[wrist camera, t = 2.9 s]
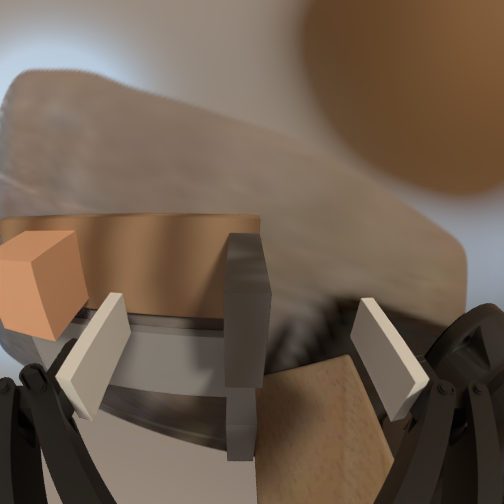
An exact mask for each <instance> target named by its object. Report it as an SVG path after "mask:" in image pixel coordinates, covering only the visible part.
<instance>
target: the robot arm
mask: <svg viewBox="0 0 504 504" xmlns="http://www.w3.org/2000/svg"><path fill="white" fill-rule="evenodd" d="M130 334H131V330H130V326H129V322H128V317H127V313H126V308H125V303H124V298H123V293H112V292H110V294H109V295H108V297H107V298H106V299H105V301H104V302H103V304H102V305H101V306H100V308H99V309H98V311H97V312H96V314H95V315H94V316H93V318H92V319H91V321H90V322H89V324H88V325H87V327H86V328H85V330H84V331H83V333H82V334H81V336H80V337H79V339H76V338H72V339H71V340H69V341H68V342H67V343H65V345H64V346H63V348H62V349H61V352H59V354H58V355H57V358H55V360H54V361H53V363H52V365H51V366H50V368H49V369H48V371H47V373H46V372H45V370H44V368H43V366H41V365H40V364H36V363H33V364H29V365H27V366H25V367H24V368H23V369H22V370H21V372H20V374H19V379H20V381H21V382H22V384H23V386H16V384H15V383H14V381H13V380H12V379H11V378H7V377H4V378H1V379H0V504H48V502H47V497H46V491H45V485H44V477H43V470H42V460H41V449H42V452H43V455H44V458H45V461H46V464H47V467H48V469H49V472H50V474H51V477H52V480H53V482H54V485H55V487H56V490H57V492H58V494H59V496H60V499H61V501H62V503H63V504H117V503H116V501H115V500H114V498H113V497H112V495H111V493H110V492H109V490H108V488H107V487H106V485H105V483H104V481H103V480H102V478H101V476H100V474H99V472H98V471H97V469H96V467H95V465H94V463H93V461H92V459H91V457H90V455H89V453H88V450H87V448H86V446H85V444H84V442H83V440H82V437H81V435H80V433H79V430H78V428H77V425H76V423H75V421H74V419H73V417H72V415H73V413H74V410H75V412H76V413H77V415H78V416H79V417H80V418H83V419H86V420H90V421H94V418H95V416H96V413H97V411H98V408H99V406H100V403H101V401H102V398H103V396H104V393H105V391H106V389H107V386H108V384H109V381H110V379H111V377H112V374H113V372H114V370H115V367H116V365H117V363H118V361H119V358H120V356H121V354H122V352H123V349H124V347H125V345H126V343H127V341H128V339H129V336H130ZM350 337H351V339H352V341H353V343H354V345H355V347H356V349H357V351H358V353H359V355H360V357H361V359H362V361H363V363H364V365H365V367H366V369H367V371H368V374H369V376H370V378H371V380H372V382H373V384H374V386H375V388H376V390H377V392H378V395H379V397H380V399H381V401H382V403H383V405H384V408H385V410H386V412H387V414H388V416H389V419H390V421H391V422H392V421H396V420H400V419H404V418H405V417H406V415H407V414H408V412H409V411H410V412H411V414H412V417H411V419H410V420H409V421H408V423H407V424H406V426H405V427H404V428H403V429H404V430H405V429H406V428H407V429H406V432H405V435H404V437H403V440H402V443H401V445H400V448H399V450H398V453H397V455H396V457H395V460H394V462H393V464H392V467H391V469H390V471H389V473H388V475H387V477H386V480H385V482H384V484H383V486H382V488H381V490H380V492H379V493H378V495H377V497H376V499H375V501H374V503H373V504H504V312H503V311H502V310H501V309H500V308H498V307H497V306H496V305H495V304H492V303H486V304H482V305H479V306H477V307H476V308H473V309H472V310H470V311H469V312H467V313H466V314H464V315H463V316H462V317H461V318H459V319H458V320H457V321H456V322H455V323H454V324H453V325H452V326H451V327H450V328H449V329H448V330H447V331H446V332H445V333H444V334H443V335H442V336H441V338H440V339H439V340H438V341H437V342H436V344H435V345H434V346H433V348H432V349H431V351H430V352H429V354H428V355H427V357H426V359H425V357H424V356H422V353H421V352H420V350H419V349H418V348H417V347H416V346H415V345H413V344H412V343H411V342H407V343H405V342H404V340H403V339H402V338H401V336H400V335H399V333H398V332H397V330H396V329H395V328H394V326H393V325H392V323H391V322H390V321H389V319H388V318H387V317H386V315H385V314H384V312H383V311H382V310H381V308H380V307H379V306H378V304H377V303H376V302H375V300H374V299H373V298H361V300H360V304H359V307H358V311H357V315H356V318H355V322H354V325H353V329H352V332H351V336H350ZM40 446H41V447H40Z"/></svg>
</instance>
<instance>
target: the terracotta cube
mask: <svg viewBox="0 0 504 504" xmlns="http://www.w3.org/2000/svg"><path fill="white" fill-rule="evenodd" d="M88 299H89V297H88V293H87V288H86V284H85V280H84V275H83V270H82V265H81V260H80V254H79V248H78V242H77V236H76V231H24V232H23V233H21V234H19V235H17V236H16V237H14V238H12V239H11V240H9V241H7V242H6V243H4V244H2V245H1V246H0V318H1V320H2V323H3V325H4V327H5V328H6V329H10V330H13V331H17V332H20V333H24V334H27V335H31V336H35V337H39V338H43V339H47V340H51V341H57V339H58V338H59V337H60V335H61V334H62V332H63V331H64V330H65V328H66V327H67V326H68V325H69V323H70V322H71V321H72V319H73V318H74V317H75V315H76V314H77V313H78V312H79V310H80V309H81V308H82V307H83V305H84V304H85V303H86V302H87V300H88Z"/></svg>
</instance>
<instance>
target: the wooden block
mask: <svg viewBox="0 0 504 504" xmlns="http://www.w3.org/2000/svg"><path fill="white" fill-rule="evenodd" d="M255 397H256V412H257V432H256V440H255V448H254V451H255V468H256V486H257V503H258V504H373V503H374V501H375V499H376V497H377V495H378V493H379V492H380V490H381V488H382V486H383V484H384V482H385V480H386V477H387V475H388V473H389V471H390V469H391V467H392V464H393V462H394V458H393V456H392V453H391V451H390V448H389V446H388V443H387V441H386V438H385V436H384V433H383V431H382V428H381V426H380V423H379V421H378V419H377V416H376V414H375V411H374V409H373V407H372V404H371V402H370V400H369V397H368V395H367V393H366V390H365V388H364V386H363V384H362V381H361V379H360V377H359V375H358V372H357V370H356V368H355V366H354V363H353V361H352V359H351V357H350V356H349V355H342V356H339V357H335V358H332V359H328V360H325V361H321V362H318V363H314V364H310V365H306V366H302V367H298V368H294V369H290V370H285V371H281V372H276V373H272V374H267V375H263V384H262V388H255Z"/></svg>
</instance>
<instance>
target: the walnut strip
mask: <svg viewBox="0 0 504 504" xmlns="http://www.w3.org/2000/svg"><path fill="white" fill-rule="evenodd" d="M24 231H76V236H77V242H78V248H79V254H80V260H81V265H82V270H83V275H84V280H85V284H86V288H87V293H88V297H89V299H88V300H87V302H86V303H85V304H84V305H83V307H84V308H92V309H99V308H100V306H101V305H102V304H103V302H104V301H105V299H106V298H107V297H108V295H109V294H110V292H112V293H123V298H124V303H125V308H126V312H129V313H140V314H152V315H166V316H181V317H200V318H224V370H225V387H231V388H262V384H263V375H264V366H265V357H266V348H267V338H268V328H269V318H270V308H271V297H272V293H271V288H270V283H269V278H268V273H267V268H266V263H265V258H264V253H263V248H262V243H261V238H260V216H257V215H225V214H80V215H51V216H30V217H12V218H4V219H2V220H0V233H1V238H2V243H3V244H4V243H6V242H7V241H9V240H11V239H12V238H14V237H16V236H17V235H19V234H21V233H23V232H24Z"/></svg>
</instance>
